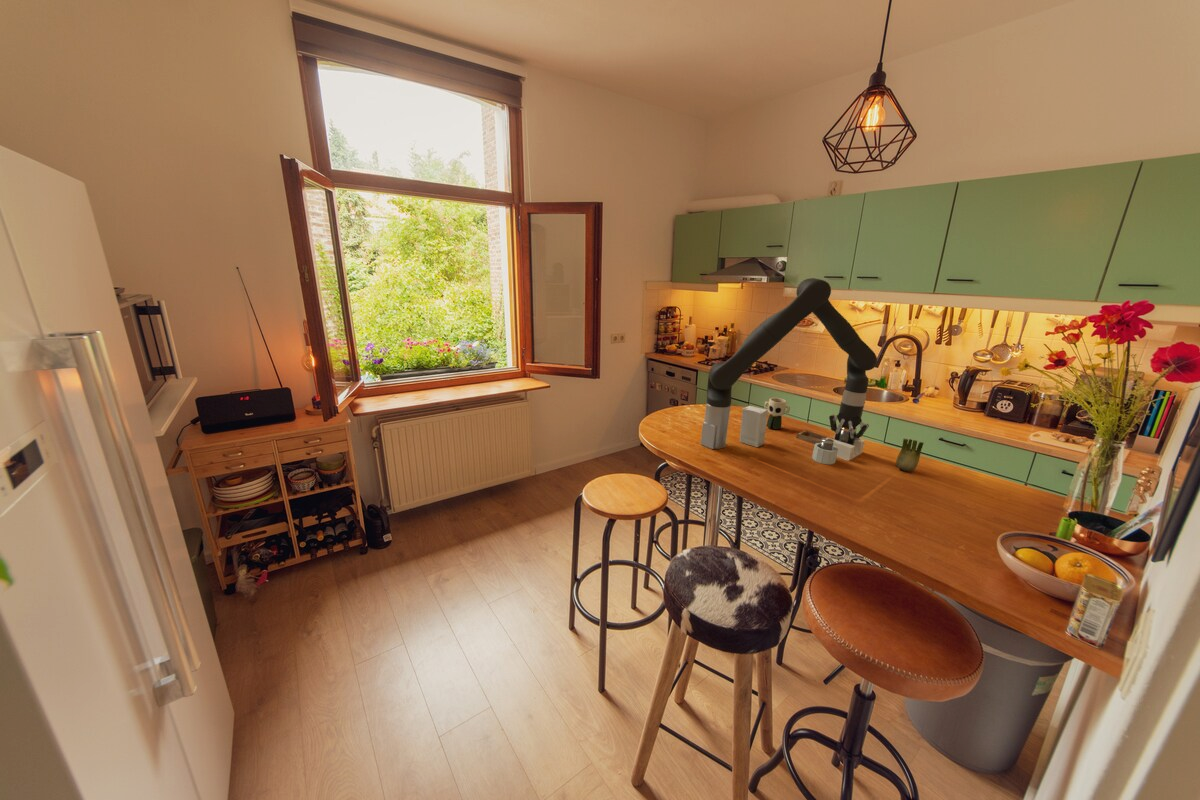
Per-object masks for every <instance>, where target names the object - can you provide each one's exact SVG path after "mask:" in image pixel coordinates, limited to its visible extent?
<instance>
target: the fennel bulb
mask: <svg viewBox="0 0 1200 800" xmlns="http://www.w3.org/2000/svg"><path fill="white" fill-rule="evenodd" d="M917 444H918V445H917ZM924 444H925V443H924V442H923V441H919V442H918V440H917V439H912V438H910V439H909V438H903V441H902V447H901V449H900V451H899V453H898V456H897V457H896V462H895V463H896V464H895V465H896V467H897V468H898V469H899V470H900V471H904V472H908V473H909V472H914V471H915V470H916V468H917V467H918V465H919V462H920V457H921V454H922V449H923V446H924Z"/></svg>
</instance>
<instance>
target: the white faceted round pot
mask: <svg viewBox="0 0 1200 800" xmlns="http://www.w3.org/2000/svg"><path fill="white" fill-rule="evenodd" d="M820 444H821V443H816V444H814V446H813V447H814V448H813V451H812V455H811V456H812V457H811V458H812V460H813V461H815V462H816V463H820V464H823V465H834V464H835V463H836V460H837V458H838V457H837V452H838V448H837V447H835V446H834V445H833V447H832V450H830V451H829V450H824V449H821V448H820Z"/></svg>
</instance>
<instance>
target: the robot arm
mask: <svg viewBox="0 0 1200 800" xmlns="http://www.w3.org/2000/svg"><path fill="white" fill-rule="evenodd" d="M831 294H832V288H831V285H830V283H828V281H826V280H823V279H820V278H814V277H813V278H811V277H810V278H806V279H804V280H802V281H800V282H799V284H798V286H797V288H796V297H795V298H794V299H793V300H792V301H791V302H790V303H789V304H787V306H785V307H784V308H782V309H781V310H779V311H777V312H776V313H774V314H772V315H770V317H768V318H766V319H765V320H763V321H762V322H761V323H760V324H759V325H758V326H756V328H754V330H752V332H750V334H749V335H748V336H747V337H746V338H745V340H744V341H743V343H742V344H741V346H740V347H739V348H738V350H737V351H736V352H735V353H734V354H733V355H732V356H731V357H730V358H728V359H727V360H726V361H724V362H723V361H719V362H716V363H714V364H713V365H711V367H710V369H709V371H708V375H707V376H708V377H707V386H706V387H707V389H706V403H705V404H706V405H705V410H704V422H703V423H702V428H701V438H700V445H701V446H704V447H706V448H709V449H711V450H716V449H717V450H718V449H724V448H725V447H726V445H727V437H728V430H729V429H728V428H729V421H730V413H731V404H732V387H733V385H734V384H735V383H736V382H737V381H738V380H739V379H740V378H742V377H741V376H743V374H745V372H746V371H748V370H749V368H750V367H751V366H753V365H754V364H755V363H756V362H758V361H759V360H760V359H761V358H762V357H764V356H765V355H766V354H767V353H768V352H769V351H771V349H773V348H774V347H775V346H777V345H778V343H779V342H780V341H782V340H783V339H784V338H785V337H786V336H787V335H788V334H790V332H791V331H792V330H794V328H795V327H797V325H798V324H800V323H801V322H802V321H804V319H806V317H808V316H809V315H811V314H814V316H816V318H818V320H819V321H820V323H821V324H822V325H823V327H824V328H825V329H826V330H827V332H828V334H830V336H831V338H832V339H833V340H834V342H835V343H836V345H838V347H839V349H841V350H842V351H843V352H844V353H846V354H847V355H848V357H847V362H846V382H845V385H844V391H843V393H842V396H841V401H840V407H839V411H838V413H837V415H836V414H832V415H829V417H828V418H829V423H830V424H829V425H830V426H829V427H830V430H831V431H832V432H834V435H835V439H834V438H833V439H834V440H837V441H838V439H839V435H840V430H841V428H842V427H846V428H848V429H849V432H850V438H849V442H848V444H850V445H854V441H855V438H859V439H860V438H862V436H864V434H865V432H866V431H867V429H868V428H869V427H870V424H869V423H865V422H863V421H862V416H863V411H864V408H865V405H866V400H867V398H866V397H867V391H868V386H869V382H870V381H869V377H868V375H867V373H866V372H867V371H871V370H872V369H874V368H875V367H876V366H877V364H878V357H877V355H876V353H875V351H874V350H873V349H872V348H871V347H869V346H868V344H867V343H866V342H865V341H863V340H862V338H861V337H860V335H859V334H858V332H857V331H856V330H855V329H854V327H853V325H852V324H851V323H850V322H849V321H848V320H847V319H846V318H845V317H844V316H843V315H842V314H841V313H840V312H839V311H838V310H837V309H836V308H835V307H834V306H833V304H832V303H831V301H830V300H829V299H830V296H831ZM837 420H838V422H839V424H838V425H837ZM858 426H859V428H860V429H859V431H858V432H857V427H858Z"/></svg>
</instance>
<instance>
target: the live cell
mask: <svg viewBox="0 0 1200 800" xmlns="http://www.w3.org/2000/svg"><path fill="white" fill-rule="evenodd" d="M849 438H850V432H849V429H848V428H846V427H842V428H841V430H840V435H839V439H838V441H840V442H844V443H847V444H848V442H849Z"/></svg>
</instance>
